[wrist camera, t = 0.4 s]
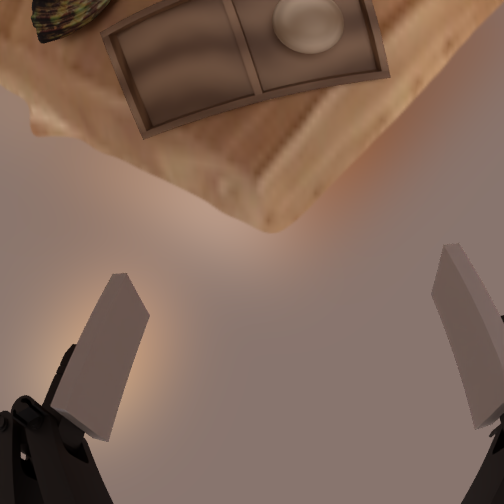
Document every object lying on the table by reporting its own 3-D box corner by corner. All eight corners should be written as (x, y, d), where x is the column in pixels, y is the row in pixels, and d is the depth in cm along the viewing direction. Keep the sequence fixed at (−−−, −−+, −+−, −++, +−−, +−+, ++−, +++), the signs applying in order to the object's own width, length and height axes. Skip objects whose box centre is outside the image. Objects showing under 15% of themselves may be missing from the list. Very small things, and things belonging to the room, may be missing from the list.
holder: (111, 31, 27) (100, 32, 25) (350, -40, 20) (355, -46, 18) (151, 132, 35) (143, 139, 33) (382, 74, 28) (390, 77, 26)
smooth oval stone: (264, 3, 24) (261, -7, 19) (327, -9, 23) (339, -20, 18) (283, 58, 28) (284, 62, 23) (344, 47, 27) (359, 48, 21)
